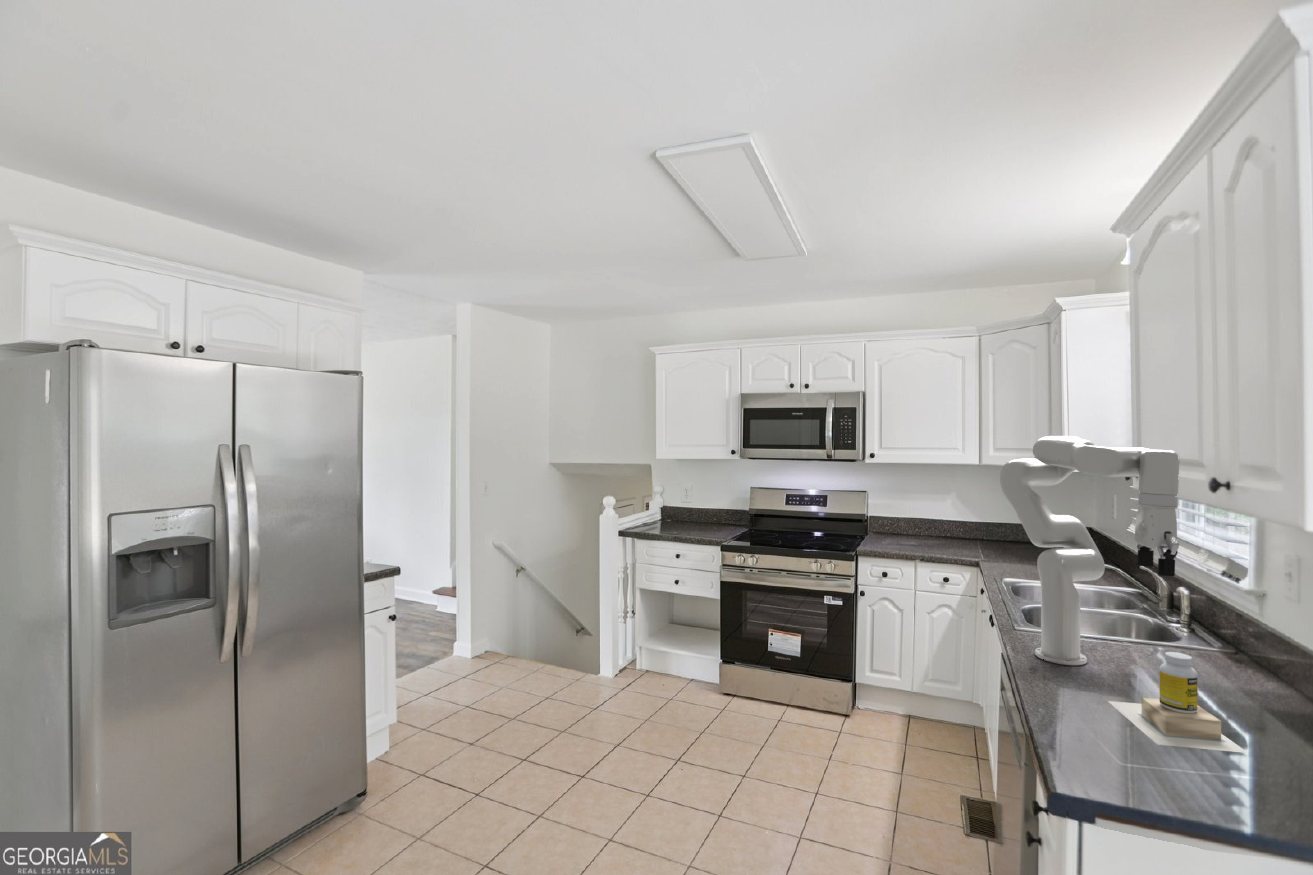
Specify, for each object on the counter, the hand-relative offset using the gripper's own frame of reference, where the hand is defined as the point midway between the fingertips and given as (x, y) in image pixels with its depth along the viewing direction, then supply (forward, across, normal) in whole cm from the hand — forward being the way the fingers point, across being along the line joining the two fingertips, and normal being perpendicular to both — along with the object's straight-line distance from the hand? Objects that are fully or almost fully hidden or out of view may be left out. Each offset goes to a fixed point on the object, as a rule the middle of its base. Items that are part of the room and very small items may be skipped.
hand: (1155, 570), depth 154 cm
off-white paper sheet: (+31, +17, -3) cm, 35 cm away
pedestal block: (+31, +18, -2) cm, 35 cm away
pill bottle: (+27, +17, -2) cm, 32 cm away
